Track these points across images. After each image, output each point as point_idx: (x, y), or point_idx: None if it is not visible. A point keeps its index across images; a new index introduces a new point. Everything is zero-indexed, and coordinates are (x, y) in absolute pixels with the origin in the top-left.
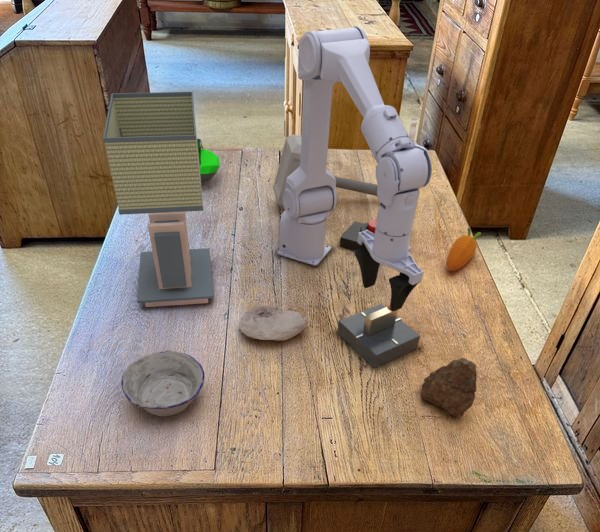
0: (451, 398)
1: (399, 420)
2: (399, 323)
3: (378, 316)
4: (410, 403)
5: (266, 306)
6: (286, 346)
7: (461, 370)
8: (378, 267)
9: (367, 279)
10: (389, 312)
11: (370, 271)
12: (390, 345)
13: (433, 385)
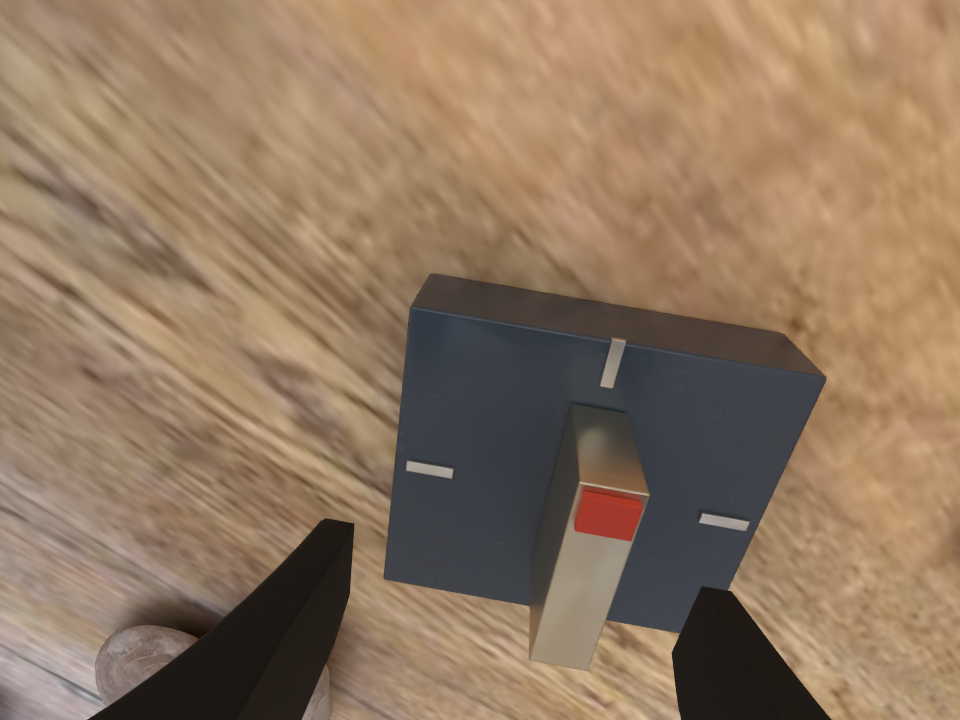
0: None
1: (939, 693)
2: (642, 380)
3: (597, 625)
4: (940, 617)
5: (114, 676)
6: (344, 676)
7: None
8: (273, 656)
9: (318, 662)
10: (626, 555)
11: (280, 715)
12: (720, 551)
13: None
